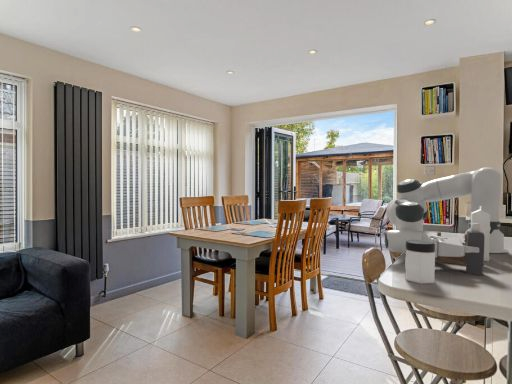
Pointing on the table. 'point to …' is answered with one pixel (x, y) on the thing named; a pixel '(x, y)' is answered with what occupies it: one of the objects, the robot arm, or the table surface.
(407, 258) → the jar
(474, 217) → the milk
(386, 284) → the table surface
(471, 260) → the grey capped bottle
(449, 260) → the brown notched panel
